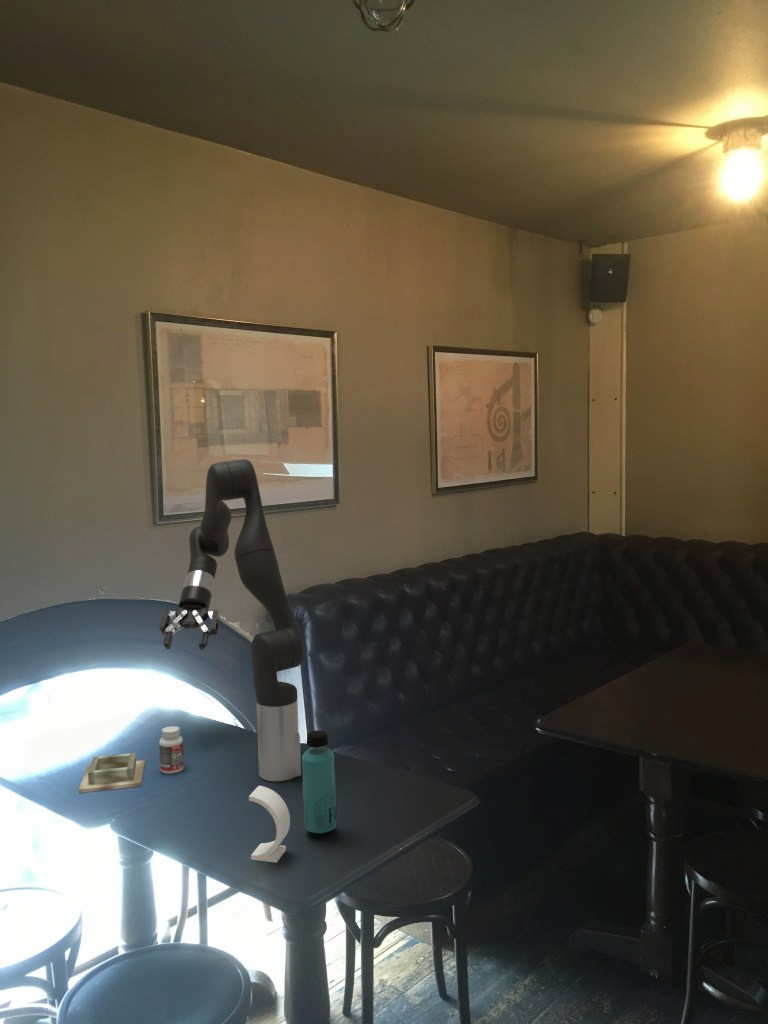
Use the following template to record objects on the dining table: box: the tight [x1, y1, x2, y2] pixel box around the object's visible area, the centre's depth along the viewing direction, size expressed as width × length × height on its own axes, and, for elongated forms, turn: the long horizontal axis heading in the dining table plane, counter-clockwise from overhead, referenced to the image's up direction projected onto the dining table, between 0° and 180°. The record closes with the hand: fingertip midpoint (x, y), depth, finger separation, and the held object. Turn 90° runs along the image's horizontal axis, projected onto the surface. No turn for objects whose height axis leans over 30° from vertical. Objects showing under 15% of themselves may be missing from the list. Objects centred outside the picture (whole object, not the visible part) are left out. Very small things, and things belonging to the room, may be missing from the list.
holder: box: [78, 752, 146, 794], centre depth 184 cm, size 13×13×4 cm
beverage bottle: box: [301, 730, 338, 834], centre depth 156 cm, size 6×7×20 cm
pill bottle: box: [158, 725, 185, 775], centre depth 188 cm, size 5×5×10 cm
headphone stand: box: [248, 785, 291, 864], centre depth 148 cm, size 5×6×12 cm
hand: (184, 647), depth 197 cm, fingers open, 8 cm apart
